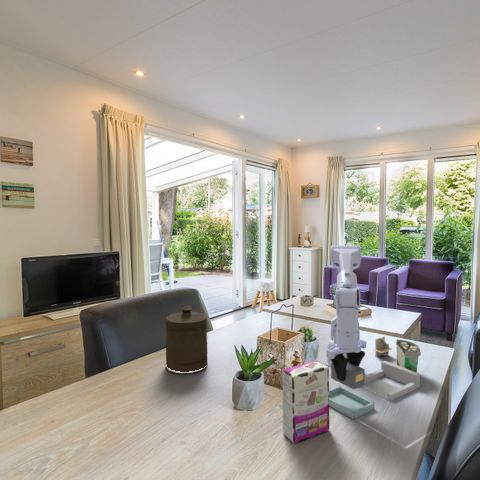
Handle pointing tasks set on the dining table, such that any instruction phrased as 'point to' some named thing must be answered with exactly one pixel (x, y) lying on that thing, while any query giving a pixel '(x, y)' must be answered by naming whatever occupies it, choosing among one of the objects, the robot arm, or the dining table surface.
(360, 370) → the grey rectangular block
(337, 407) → the tray
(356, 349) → the robot arm
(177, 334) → the wooden container
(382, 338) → the architectural model
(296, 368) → the candy bar box
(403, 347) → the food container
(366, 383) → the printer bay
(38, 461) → the dining table surface
